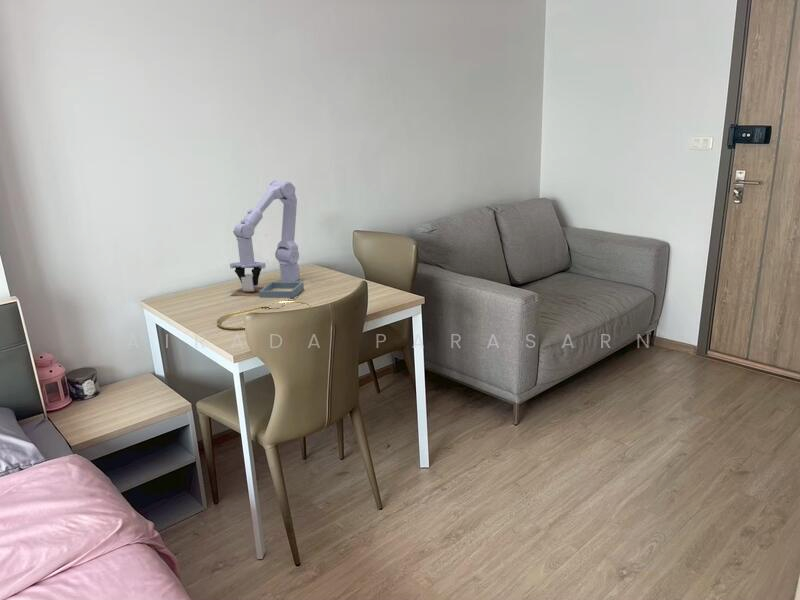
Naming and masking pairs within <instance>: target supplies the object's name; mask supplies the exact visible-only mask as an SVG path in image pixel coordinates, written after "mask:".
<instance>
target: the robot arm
mask: <svg viewBox="0 0 800 600" xmlns="http://www.w3.org/2000/svg"><path fill="white" fill-rule="evenodd" d="M274 200H279V201H280V202H282V203H283V207H282V209H283V210H282V224H281V225H282V227H281V237H280V238H281V240H280V241H279V242H278V243H277V247H276V250H275V254H274V255H275V259H276V260H277V261H278V263H279V270H280V271H279V273H280V282H299V280H303V278H301V275H300V266H299V264H298V261H299V259H300V252H299V246H298V245H297V243H296V242H295V234H296V221H297V206H298V199H297V195H296V186H295V185H294V184H293V183H292V182H291V181H288V180H287V181H279V180H272V181H271V182H270V183H269V185H267V187H266V191H265V192H264V194H263V195H262V197H261V198H260V200H259V201H258V203H257V205H256V206H255V207H253V208H251V209H248V210H247V213H246V215H245V216H244V218H243V219H241V220H240V222H239V223H237V224H235V226H234V230H232V232H233V235H234V236H235V237H236V241H237V248H238V249H237V250H238V256H239V261H238V262H231V263H229V266H230V269H234V272H235V274H236V275H237V276H238V279H239V281H240V283H241V284H242V281H241V277H242V276H244V275H245V274H246V269H251V274H253V278H254V285H255V286H256V285H258V286H259V279H260V278H259V277H260V274H261V271H262V269H265V268H266V262H260V261H259V262H258V261H255V255H254V254H255V253H254V247H253V246H254V245H253V238H252V236H254V234H255V230H256V227H257V226H258V224H259V223H260V221H262V219H263V217H264V216H263V213H264V212H265V210H267V208H268V207H269V206H270V205H271V203H273V202H274Z"/></svg>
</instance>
